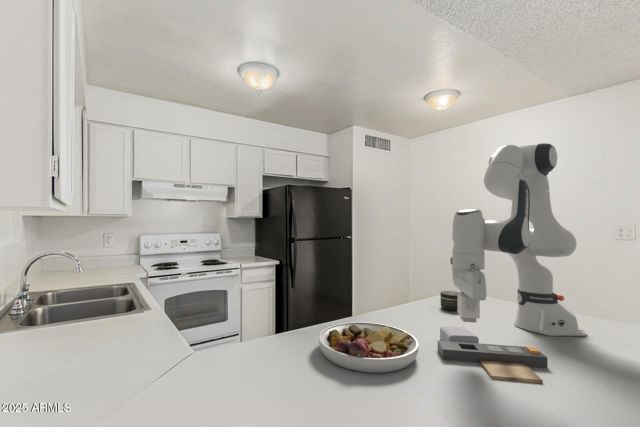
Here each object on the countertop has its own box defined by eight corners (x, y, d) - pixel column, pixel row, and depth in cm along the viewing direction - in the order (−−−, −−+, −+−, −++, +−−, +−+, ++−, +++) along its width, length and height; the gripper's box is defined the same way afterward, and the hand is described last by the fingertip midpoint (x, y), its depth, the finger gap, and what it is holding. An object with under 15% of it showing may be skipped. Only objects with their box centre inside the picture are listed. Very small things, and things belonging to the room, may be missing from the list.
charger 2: (459, 334, 113) (478, 351, 98) (434, 333, 114) (449, 350, 99) (460, 321, 113) (478, 336, 98) (434, 320, 114) (449, 335, 99)
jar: (443, 305, 153) (443, 289, 154) (465, 308, 148) (465, 292, 148) (437, 309, 145) (437, 293, 145) (460, 313, 139) (460, 296, 140)
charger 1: (474, 318, 96) (474, 294, 96) (479, 323, 91) (479, 297, 92) (457, 317, 97) (457, 293, 97) (461, 322, 92) (461, 297, 92)
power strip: (534, 357, 94) (534, 344, 94) (547, 368, 87) (547, 354, 87) (437, 349, 98) (437, 337, 98) (442, 359, 91) (442, 346, 91)
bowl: (334, 331, 114) (335, 310, 115) (420, 343, 104) (420, 319, 105) (303, 366, 86) (304, 338, 86) (416, 387, 76) (416, 355, 76)
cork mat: (525, 367, 87) (525, 364, 87) (542, 383, 78) (542, 380, 79) (479, 363, 89) (479, 360, 89) (491, 378, 80) (491, 375, 80)
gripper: (492, 267, 84) (493, 319, 83) (468, 258, 104) (468, 300, 104) (467, 266, 85) (468, 317, 84) (448, 258, 105) (449, 299, 105)
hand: (468, 307), depth 94 cm, fingers closed on charger 1, 4 cm apart
